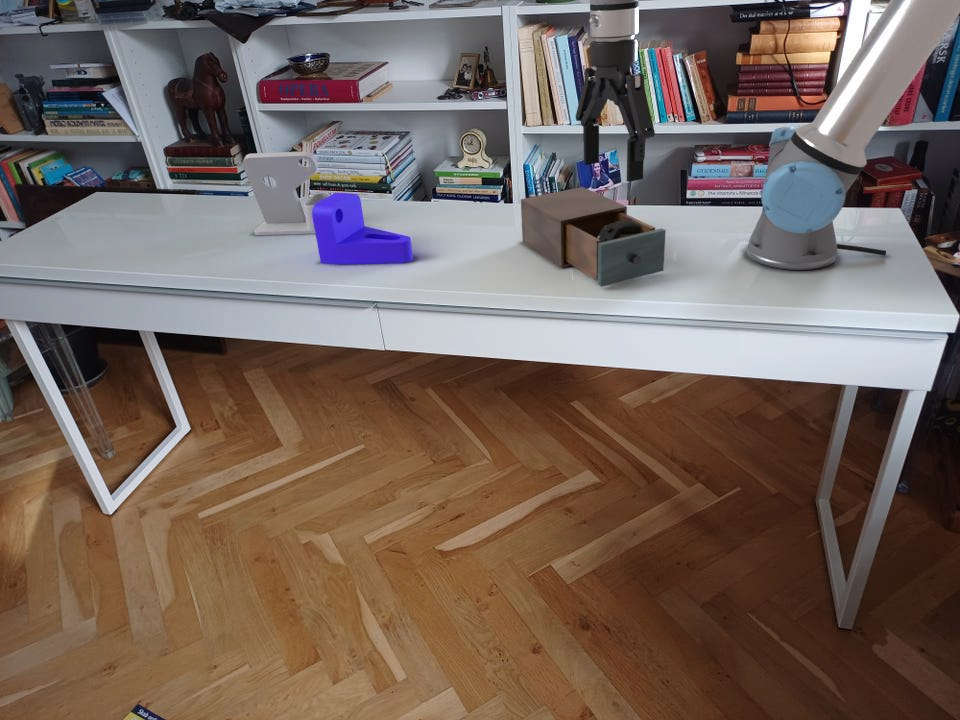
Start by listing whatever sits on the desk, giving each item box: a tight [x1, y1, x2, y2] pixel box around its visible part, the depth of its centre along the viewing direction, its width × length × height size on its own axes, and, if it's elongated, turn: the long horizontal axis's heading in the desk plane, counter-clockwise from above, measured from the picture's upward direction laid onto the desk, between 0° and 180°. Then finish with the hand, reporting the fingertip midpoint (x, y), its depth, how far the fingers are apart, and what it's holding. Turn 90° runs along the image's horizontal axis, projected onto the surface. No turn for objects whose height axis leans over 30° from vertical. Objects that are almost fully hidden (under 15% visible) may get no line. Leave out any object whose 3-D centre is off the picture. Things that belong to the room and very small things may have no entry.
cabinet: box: [520, 186, 628, 269], centre depth 145 cm, size 16×14×9 cm
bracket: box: [312, 192, 414, 266], centre depth 148 cm, size 18×11×12 cm, turn 68°
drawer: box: [563, 211, 666, 288], centre depth 134 cm, size 16×13×8 cm
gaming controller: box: [597, 221, 638, 242], centre depth 134 cm, size 10×5×6 cm
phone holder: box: [242, 150, 331, 236], centre depth 166 cm, size 17×10×18 cm, turn 84°
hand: (612, 171), depth 127 cm, fingers open, 13 cm apart
